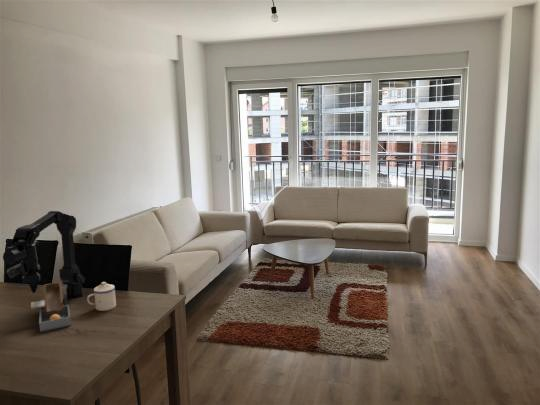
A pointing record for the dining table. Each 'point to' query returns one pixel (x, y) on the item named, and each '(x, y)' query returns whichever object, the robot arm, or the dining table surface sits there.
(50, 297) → the chute
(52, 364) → the dining table surface
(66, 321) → the bin
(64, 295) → the stand
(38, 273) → the robot arm
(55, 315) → the ball
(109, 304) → the teacup with lid
